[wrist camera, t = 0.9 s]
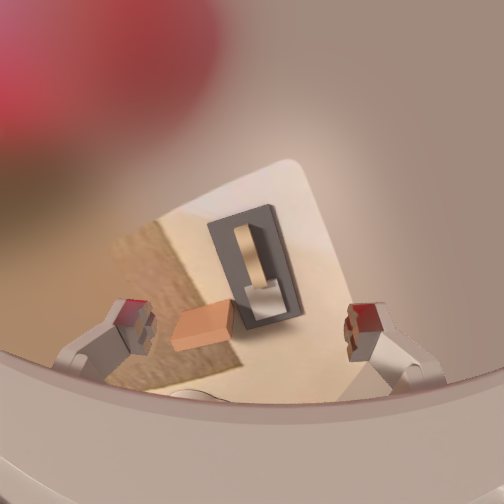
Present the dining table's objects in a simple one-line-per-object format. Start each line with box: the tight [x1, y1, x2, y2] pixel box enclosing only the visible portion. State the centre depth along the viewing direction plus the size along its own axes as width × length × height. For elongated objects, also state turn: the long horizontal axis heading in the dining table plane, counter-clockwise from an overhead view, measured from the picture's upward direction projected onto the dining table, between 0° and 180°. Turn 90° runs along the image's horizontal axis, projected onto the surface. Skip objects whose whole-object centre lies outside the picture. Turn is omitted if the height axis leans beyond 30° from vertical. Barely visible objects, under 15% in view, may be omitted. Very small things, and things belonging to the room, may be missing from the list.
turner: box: [234, 223, 287, 321], centre depth 50 cm, size 18×6×2 cm, turn 17°
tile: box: [170, 299, 234, 352], centre depth 49 cm, size 3×10×10 cm, turn 107°
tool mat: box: [207, 204, 301, 330], centre depth 51 cm, size 22×11×1 cm, turn 17°
